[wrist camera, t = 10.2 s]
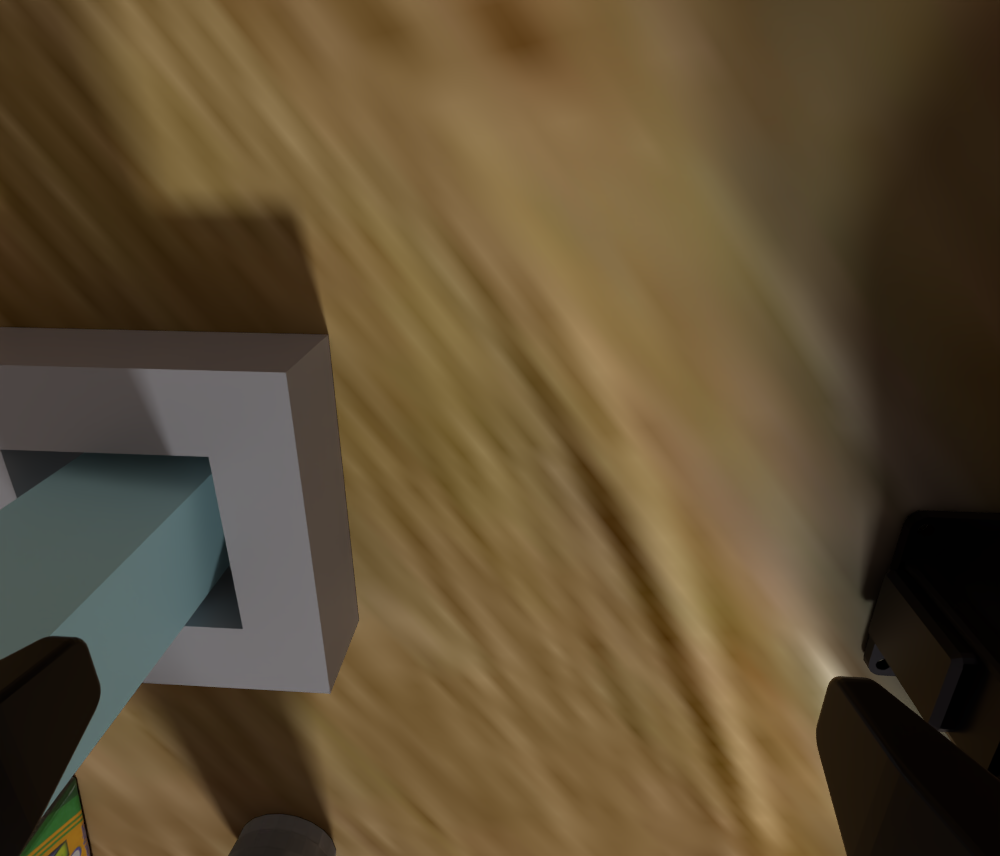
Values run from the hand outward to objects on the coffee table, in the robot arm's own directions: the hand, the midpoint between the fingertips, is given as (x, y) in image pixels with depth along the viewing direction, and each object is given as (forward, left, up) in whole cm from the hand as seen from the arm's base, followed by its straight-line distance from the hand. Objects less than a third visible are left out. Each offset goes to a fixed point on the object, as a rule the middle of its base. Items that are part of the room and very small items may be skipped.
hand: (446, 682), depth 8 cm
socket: (+11, +5, -13) cm, 18 cm away
